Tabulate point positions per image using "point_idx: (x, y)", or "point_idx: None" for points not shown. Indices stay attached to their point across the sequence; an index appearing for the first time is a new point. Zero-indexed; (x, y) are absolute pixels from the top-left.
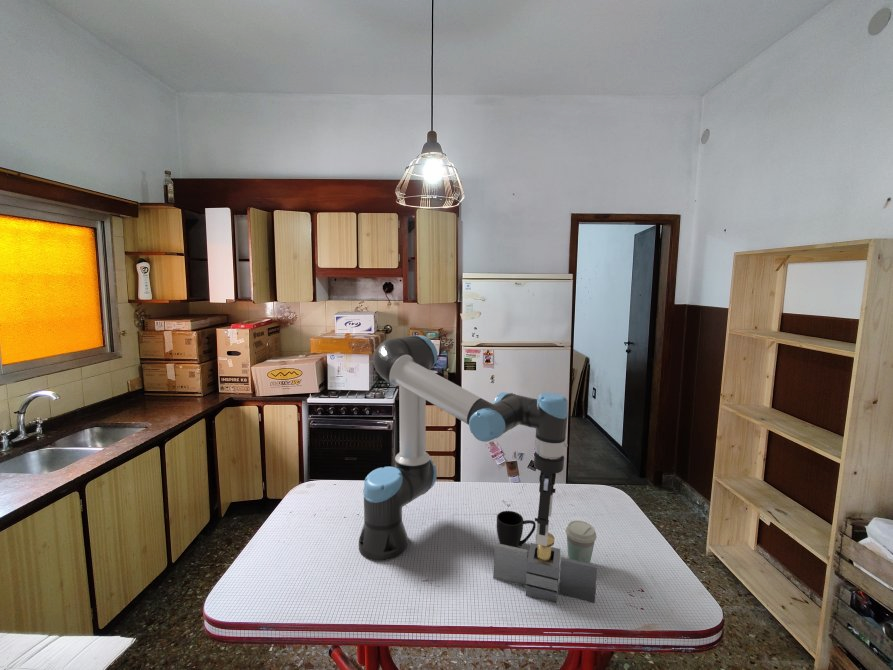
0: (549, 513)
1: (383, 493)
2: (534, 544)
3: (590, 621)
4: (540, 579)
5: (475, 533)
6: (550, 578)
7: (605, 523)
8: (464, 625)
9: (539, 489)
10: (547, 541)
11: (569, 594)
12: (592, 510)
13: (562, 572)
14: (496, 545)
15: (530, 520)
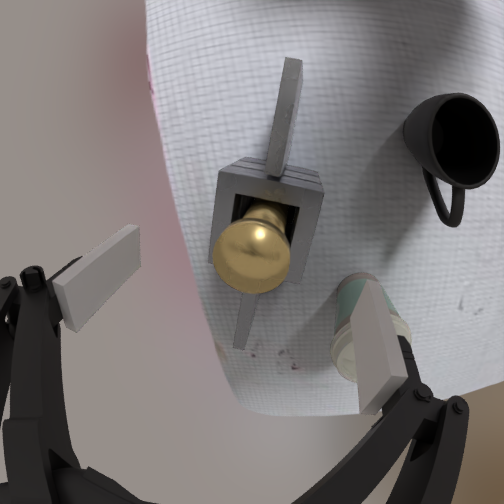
0: (354, 321)
1: None
2: (316, 205)
3: (205, 276)
4: None
5: (455, 57)
6: None
7: (462, 356)
8: (147, 47)
9: (5, 434)
10: (220, 264)
11: None
12: (496, 341)
13: None
14: (285, 63)
15: (461, 213)
